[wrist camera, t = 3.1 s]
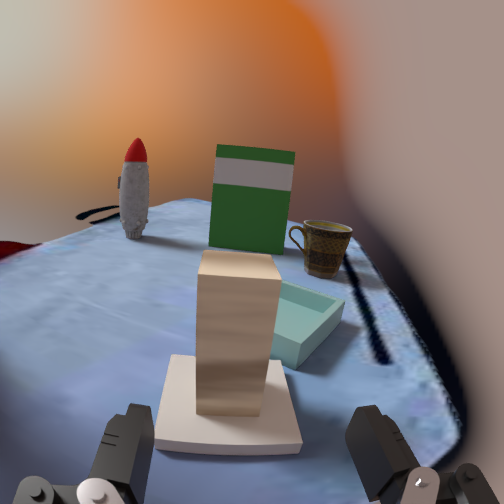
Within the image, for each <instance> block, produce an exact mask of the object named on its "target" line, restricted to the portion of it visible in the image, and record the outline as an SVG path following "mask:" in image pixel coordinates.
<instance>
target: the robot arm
mask: <svg viewBox="0 0 504 504" xmlns="http://www.w3.org/2000/svg"><path fill="white" fill-rule="evenodd" d="M345 439H346V444H347V446H348V449H349V451H350V454H351V456H352V459H353V461H354V464H355V466H356V469H357V471H358V474H359V476H360V479H361V482H362V484H363V487H364V489H365V492H366V494H367V497H368V499H369V502H373V501H376V500H380V502H381V504H500V503H499V502H498V500H497V498H496V496H495V494H494V493H493V491H492V489H491V487H490V486H489V484H488V482H487V481H486V479H485V477H484V475H483V474H482V472H481V470H480V469H479V468H478V467H477V466H476V465H473V464H470V463H467V464H463V465H461V466H459V467H458V469H457V470H456V471H455V472H452V473H440V474H438V473H436V472H435V471H434V470H433V469H431V468H428V467H421V466H420V464H419V463H418V461H417V459H416V457H415V456H414V454H413V452H412V450H411V449H410V447H409V445H408V444H407V442H406V440H404V437H403V435H402V433H400V430H399V428H398V426H397V425H396V423H395V422H394V421H393V420H392V419H391V418H389V417H388V416H387V415H382V414H381V412H380V410H379V409H378V407H377V406H376V405H370V406H363V407H357V408H356V410H355V412H354V414H353V417H352V419H351V421H350V423H349V426H348V428H347V430H346V434H345ZM154 440H155V432H154V425H153V420H152V414H151V408H150V406H145V405H139V404H132V403H131V404H130V405H129V407H128V410H127V413H126V416H125V415H119V414H116V415H115V416H114V417H113V418H112V419H111V420H110V421H109V422H108V423H107V426H106V429H105V431H104V435H103V437H102V440H101V444H100V445H99V448H98V451H97V454H96V457H95V460H94V463H93V466H92V469H91V472H90V474H89V476H88V478H87V479H86V480H85V481H83V482H82V483H80V484H77V485H72V486H65V485H51V484H50V483H49V482H48V481H47V480H45V479H44V478H42V477H39V476H28V477H26V478H24V479H23V480H22V481H21V482H20V484H19V486H18V489H17V492H16V495H15V497H14V500H13V503H12V504H143V503H144V497H145V491H146V485H147V479H148V473H149V468H150V463H151V457H152V452H153V447H154Z"/></svg>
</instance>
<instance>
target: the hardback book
mask: <svg viewBox="0 0 504 504" xmlns="http://www.w3.org/2000/svg"><path fill="white" fill-rule="evenodd" d="M294 159H295V152H291V151H283V150H274V149H266V148H256V147H245V146H233V145H220V144H217V150H216V160H215V171H214V181H213V193H212V205H211V218H210V232H209V246H212V247H220V248H229V249H237V250H245V251H253V252H262V253H270V254H278V255H283V248H284V241H285V233H286V226H287V218H288V210H289V202H290V193H291V185H292V177H293V168H294Z"/></svg>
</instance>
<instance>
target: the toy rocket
mask: <svg viewBox="0 0 504 504" xmlns="http://www.w3.org/2000/svg"><path fill="white" fill-rule="evenodd" d="M146 162H147V154H146V150H145V147H144V144H143V143H142V141H141V139H139V138H137V139H135V140H134V142H133V143H132V144H131V146H130V147H129V149H128V151H127V154H126V156H125V162H124V165H123V169H122V174H121V177H118V189H120V193H119V197H120V198H119V200H120V201H119V204H120V216H121V218H120V222H122V226H123V229H124V230H125V233H126V237H127V238H130V239H137V238H141V235H142V230H144V229H145V225H146V223H148V219H147V215H148V205H149V174H148V165H147V163H146Z"/></svg>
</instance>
